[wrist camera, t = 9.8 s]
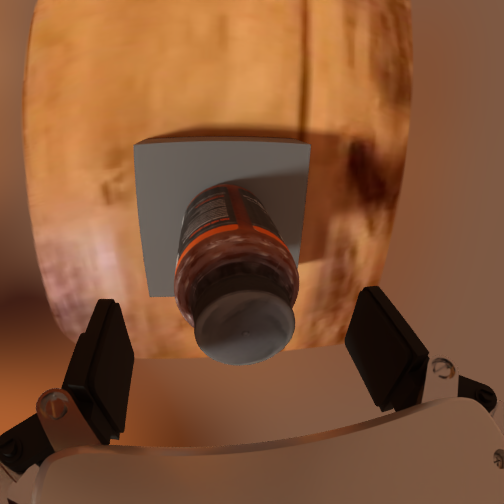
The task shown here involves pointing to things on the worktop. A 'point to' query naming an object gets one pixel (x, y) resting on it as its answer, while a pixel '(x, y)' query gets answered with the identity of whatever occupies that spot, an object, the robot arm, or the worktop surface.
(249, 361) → the supplement bottle
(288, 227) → the pedestal
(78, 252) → the worktop surface
